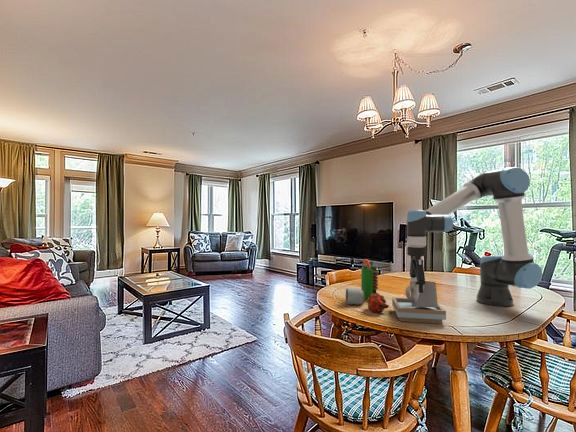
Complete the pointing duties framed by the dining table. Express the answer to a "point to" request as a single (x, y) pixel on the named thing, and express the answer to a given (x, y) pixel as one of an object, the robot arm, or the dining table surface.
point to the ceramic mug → (354, 296)
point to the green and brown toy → (369, 279)
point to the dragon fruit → (376, 302)
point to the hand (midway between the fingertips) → (417, 296)
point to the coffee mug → (422, 295)
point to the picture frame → (417, 312)
